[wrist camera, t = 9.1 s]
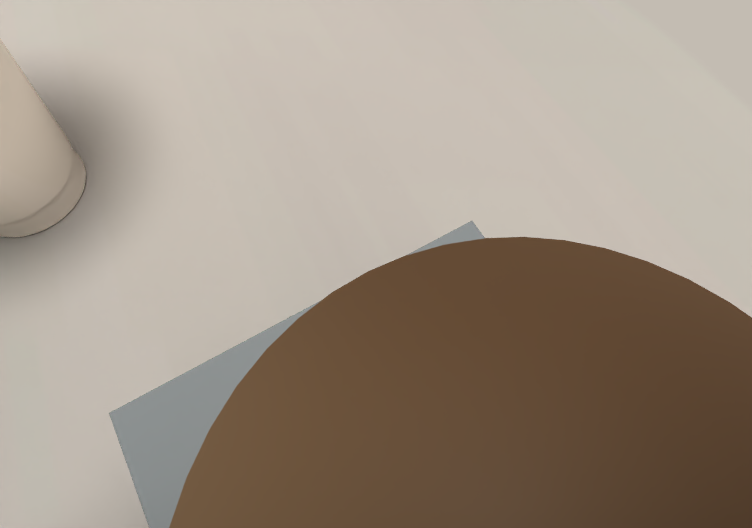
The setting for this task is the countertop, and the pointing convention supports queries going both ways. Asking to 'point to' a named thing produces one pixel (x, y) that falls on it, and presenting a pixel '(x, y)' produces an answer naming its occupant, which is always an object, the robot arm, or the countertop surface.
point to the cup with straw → (32, 158)
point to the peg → (491, 401)
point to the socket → (196, 413)
